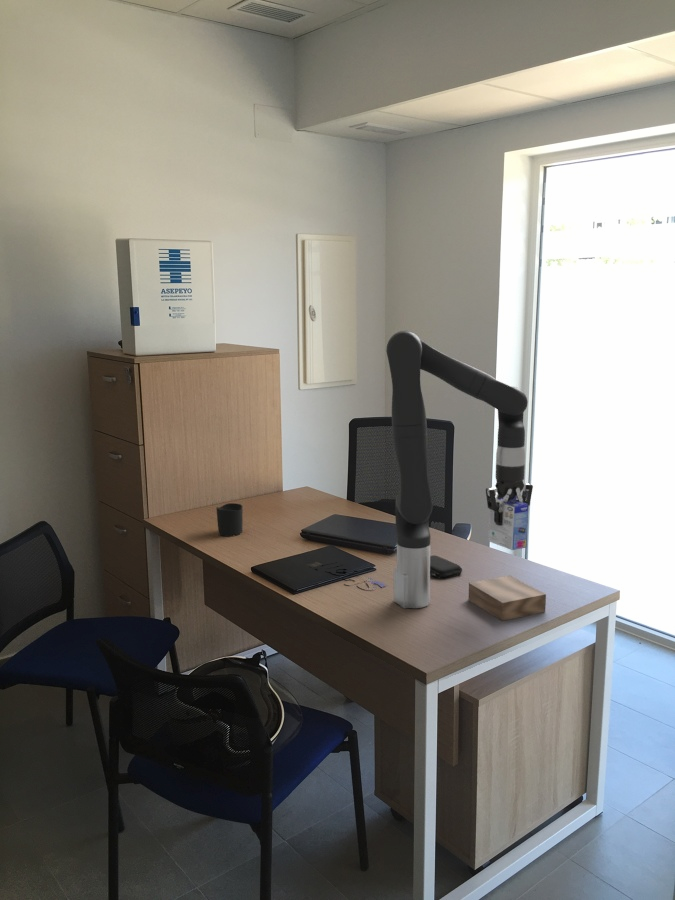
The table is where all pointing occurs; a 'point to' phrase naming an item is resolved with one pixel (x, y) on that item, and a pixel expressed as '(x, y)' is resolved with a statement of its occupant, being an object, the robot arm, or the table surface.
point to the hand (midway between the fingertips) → (508, 523)
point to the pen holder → (230, 519)
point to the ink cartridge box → (510, 526)
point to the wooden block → (507, 597)
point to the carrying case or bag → (443, 567)
